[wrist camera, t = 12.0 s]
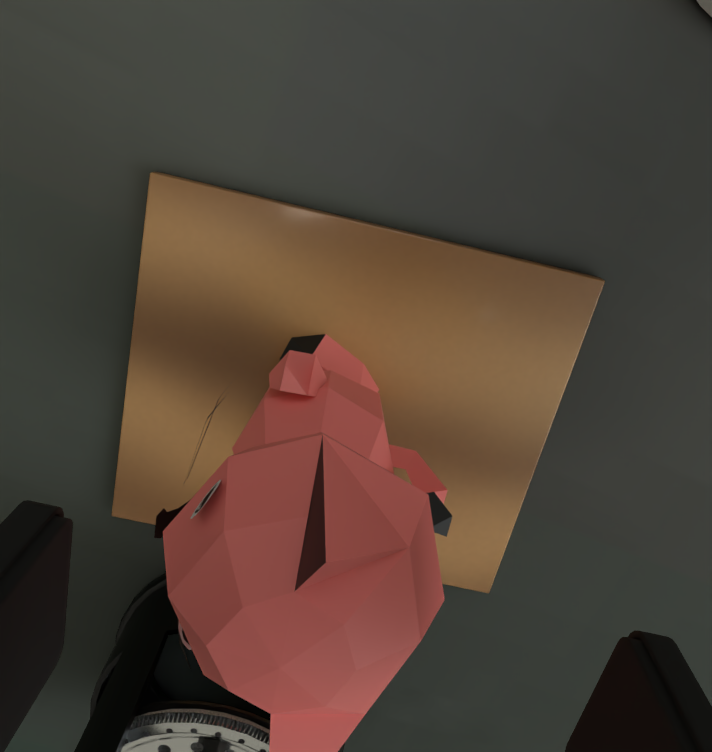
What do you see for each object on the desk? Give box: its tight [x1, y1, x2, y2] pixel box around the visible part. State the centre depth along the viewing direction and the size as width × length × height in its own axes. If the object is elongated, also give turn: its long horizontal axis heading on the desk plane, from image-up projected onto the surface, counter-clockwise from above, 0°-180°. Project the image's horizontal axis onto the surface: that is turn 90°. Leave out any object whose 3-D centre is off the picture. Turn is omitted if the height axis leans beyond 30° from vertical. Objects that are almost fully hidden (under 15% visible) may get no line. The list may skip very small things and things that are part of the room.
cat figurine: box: [154, 334, 452, 752], centre depth 15 cm, size 7×7×12 cm
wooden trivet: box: [112, 172, 605, 593], centre depth 21 cm, size 12×14×1 cm
